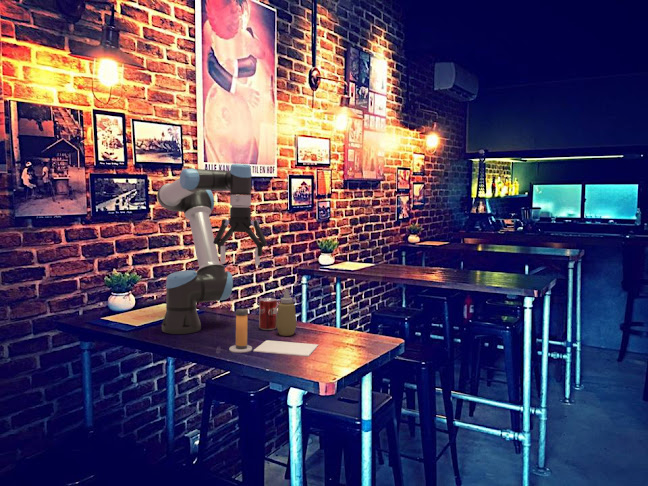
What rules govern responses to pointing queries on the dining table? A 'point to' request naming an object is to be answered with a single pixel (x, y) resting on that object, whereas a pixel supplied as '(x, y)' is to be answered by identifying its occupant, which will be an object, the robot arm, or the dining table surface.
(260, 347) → the paper
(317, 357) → the dining table surface
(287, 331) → the squeeze bottle
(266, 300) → the soda can
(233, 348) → the coaster
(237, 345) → the thermos bottle
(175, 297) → the robot arm
